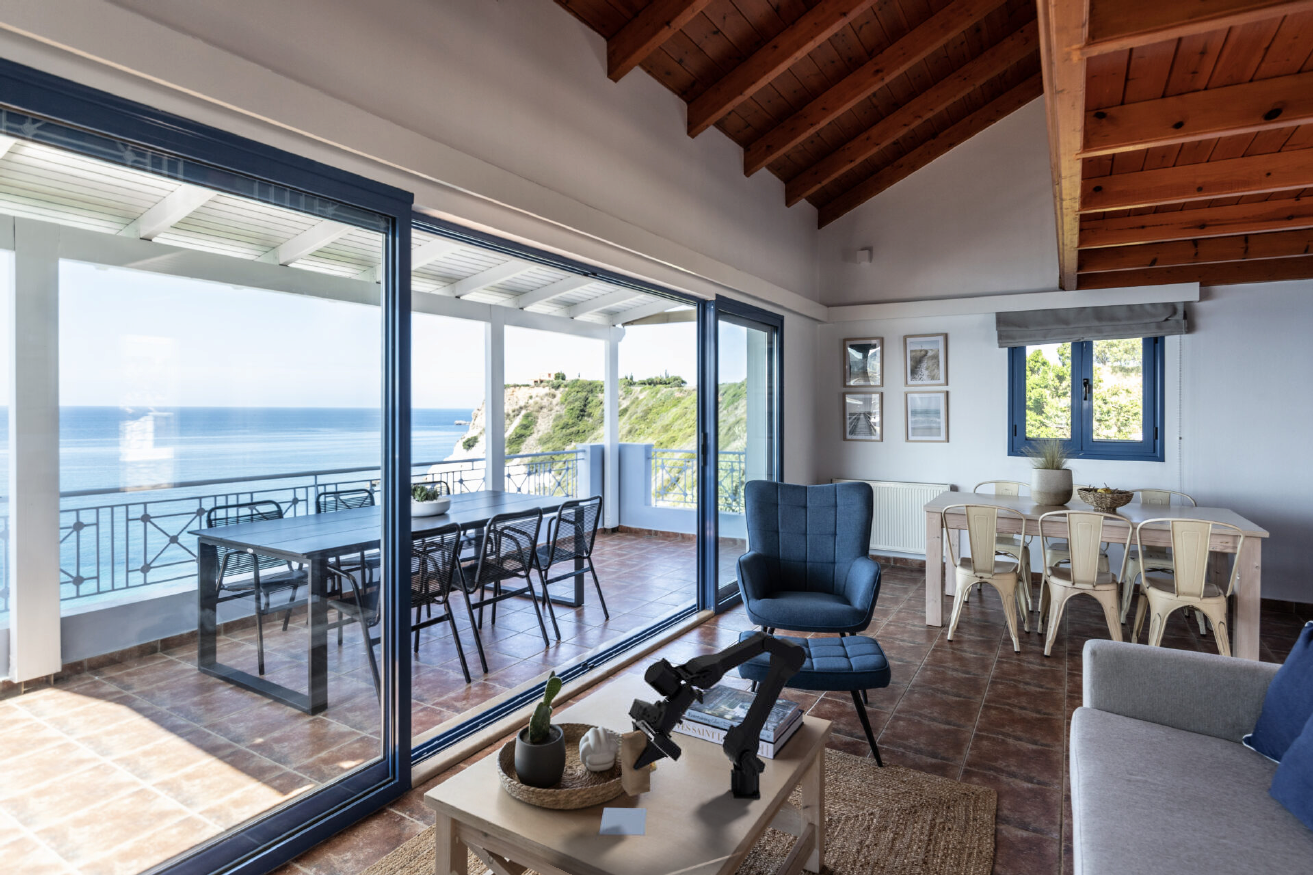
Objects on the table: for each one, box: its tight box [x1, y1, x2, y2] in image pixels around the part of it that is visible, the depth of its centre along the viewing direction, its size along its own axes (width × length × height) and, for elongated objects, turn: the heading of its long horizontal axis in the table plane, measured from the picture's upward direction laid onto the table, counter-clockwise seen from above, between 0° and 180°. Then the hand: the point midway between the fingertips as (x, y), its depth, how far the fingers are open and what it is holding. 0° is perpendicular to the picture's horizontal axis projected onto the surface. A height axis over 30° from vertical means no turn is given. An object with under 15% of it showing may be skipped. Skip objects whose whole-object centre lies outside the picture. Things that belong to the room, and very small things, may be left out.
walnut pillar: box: [620, 730, 651, 797], centre depth 158 cm, size 5×5×12 cm
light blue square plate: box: [598, 807, 648, 836], centre depth 158 cm, size 10×10×1 cm
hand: (630, 763), depth 158 cm, fingers closed on walnut pillar, 5 cm apart
